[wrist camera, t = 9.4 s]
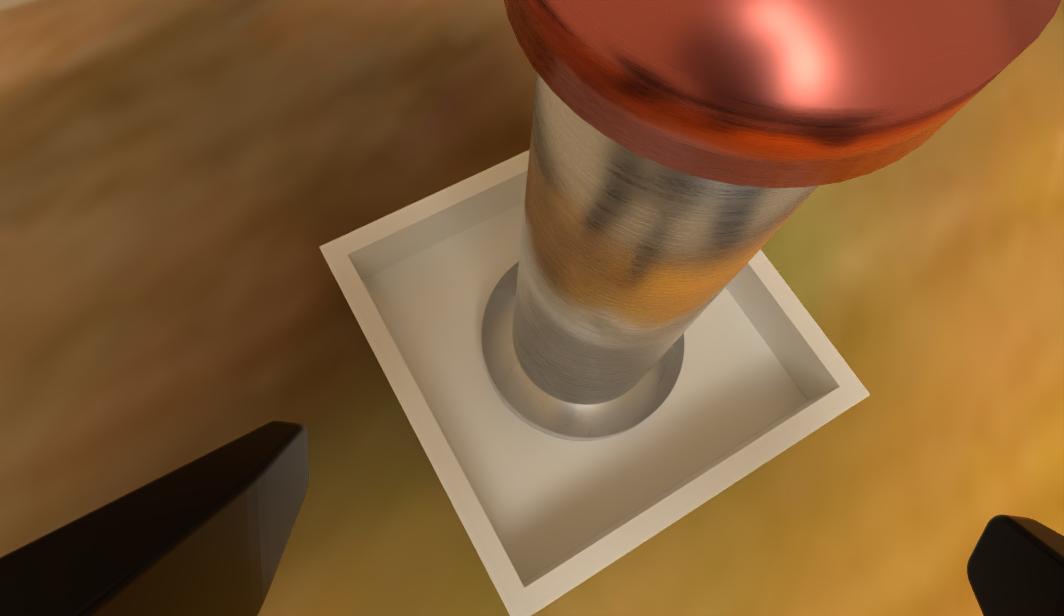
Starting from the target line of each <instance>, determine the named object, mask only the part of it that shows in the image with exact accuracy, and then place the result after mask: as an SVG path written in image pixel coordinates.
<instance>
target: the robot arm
mask: <svg viewBox="0 0 1064 616" xmlns="http://www.w3.org/2000/svg"><path fill="white" fill-rule="evenodd" d="M308 478H309V463H308V432H307V429H306V427H305V426H304V425H303V424H298V423H290V422H283V421H272V422H270V423H268V424H266V425H264V426H262V427H260V428H258V429H256V430H254V431H252V432H250V433H248V434H246V435H244V436H242V437H240V438H238V439H236V440H234V441H232V442H230V443H228V444H226V445H224V446H222V447H220V448H218V449H216V450H214V451H212V452H210V453H208V454H206V455H204V456H202V457H200V458H198V459H196V460H194V461H192V462H190V463H188V464H186V465H184V466H182V467H180V468H178V469H176V470H174V471H172V472H170V473H168V474H166V475H164V476H162V477H160V478H158V479H156V480H154V481H152V482H150V483H148V484H146V485H144V486H142V487H140V488H138V489H136V490H134V491H132V492H130V493H128V494H126V495H124V496H122V497H120V498H118V499H116V500H114V501H112V502H110V503H108V504H106V505H104V506H102V507H100V508H98V509H96V510H94V511H92V512H90V513H88V514H86V515H84V516H82V517H81V518H79V519H77V520H75V521H73V522H71V523H69V524H67V525H65V526H63V527H61V528H59V529H57V530H55V531H53V532H51V533H49V534H47V535H45V536H43V537H41V538H39V539H37V540H35V541H33V542H31V543H29V544H27V545H25V546H23V547H21V548H19V549H17V550H15V551H13V552H11V553H9V554H7V555H5V556H3V557H1V558H0V616H257V615H258V613H259V611H260V609H261V607H262V605H263V603H264V600H265V598H266V595H267V593H268V591H269V588H270V586H271V583H272V580H273V578H274V575H275V573H276V570H277V567H278V565H279V562H280V559H281V557H282V554H283V552H284V549H285V546H286V544H287V541H288V539H289V536H290V533H291V531H292V528H293V525H294V523H295V520H296V518H297V515H298V512H299V510H300V507H301V505H302V502H303V499H304V497H305V494H306V490H307V486H308ZM967 574H968V579H969V582H970V585H971V587H972V589H973V592H974V594H975V596H976V599H977V601H978V603H979V606H980V608H981V610H982V613H983V615H984V616H1064V536H1063V535H1061V534H1059V533H1057V532H1055V531H1054V530H1052V529H1050V528H1048V527H1046V526H1045V525H1043V524H1041V523H1039V522H1037V521H1035V520H1033V519H1030V518H1025V517H1017V516H1009V515H997V516H995V517H993V518H992V519H991V520H990V521H989V522H988V524H987V526H986V527H985V529H984V531H983V533H982V535H981V537H980V539H979V541H978V543H977V545H976V547H975V549H974V550H973V552H972V554H971V556H970V558H969V561H968V565H967Z"/></svg>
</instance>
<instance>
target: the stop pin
mask: <svg viewBox="0 0 1064 616" xmlns="http://www.w3.org/2000/svg"><path fill="white" fill-rule="evenodd" d="M504 2H505V7H506V11H507V15H508V18H509V21H510V23H511V26H512V28H513V30H514V33H515V35H516V38H517V40H518V42H519V44H520V46H521V48H522V49H523V51H524V53H525V54H526V56H527V58H528V59H529V61H530V63H531V64H532V66H533V68H534V69H535V70H536V71H537V78H536V88H535V99H534V109H533V120H532V130H531V141H530V151H529V161H528V172H527V182H526V193H525V203H524V214H523V224H522V235H521V245H520V256H519V261H518V262H517V263H516V264H515V265H513V266H512V267H511V268H510V269H509V270H508V271H507V272H506V273H505V274H504V275H503V276H502V278H501V279H500V280H499V282H498V283H497V284H496V286H495V288H494V290H493V291H492V293H491V295H490V297H489V300H488V302H487V305H486V308H485V312H484V316H483V320H482V331H481V336H482V354H483V360H484V365H485V368H486V371H487V374H488V378H489V380H490V382H491V384H492V386H493V388H494V390H495V391H496V393H497V394H498V396H499V397H500V399H501V400H502V402H503V403H504V404H505V405H506V406H507V407H508V409H509V410H510V411H511V412H512V413H514V414H515V415H516V416H517V417H518V418H519V419H520V420H522V421H523V422H525V423H526V424H528V425H529V426H531V427H532V428H534V429H536V430H538V431H540V432H542V433H545V434H548V435H551V436H553V437H556V438H561V439H566V440H572V441H596V440H601V439H606V438H611V437H614V436H617V435H619V434H622V433H624V432H626V431H628V430H630V429H632V428H634V427H635V426H637V425H638V424H640V423H641V422H643V421H644V420H645V419H646V418H648V417H649V416H650V415H651V414H652V413H654V412H655V411H656V410H657V409H658V408H659V407H660V406H661V405H662V403H663V402H664V401H665V400H666V398H667V397H668V396H669V394H670V393H671V391H672V389H673V387H674V386H675V384H676V381H677V379H678V376H679V374H680V371H681V367H682V363H683V357H684V348H685V347H684V332H685V331H686V330H687V329H688V328H689V326H690V325H691V324H692V323H693V322H694V321H695V320H696V319H697V318H698V317H699V316H700V314H701V313H702V312H703V311H704V310H705V309H706V308H707V307H708V306H709V305H710V304H711V302H712V301H713V300H714V299H715V298H716V297H717V296H718V295H719V294H720V293H721V292H722V290H723V289H724V288H725V287H726V286H727V285H728V284H729V283H730V282H731V281H732V280H733V278H734V277H735V276H736V275H737V274H738V273H739V272H740V271H741V270H742V269H743V267H744V266H745V265H746V264H747V263H748V262H749V261H750V260H751V259H752V258H753V257H754V255H755V254H756V253H757V252H758V251H759V250H760V249H761V248H762V247H763V246H764V245H765V243H766V242H767V241H768V240H769V239H770V238H771V237H772V236H773V235H774V234H775V233H776V231H777V230H778V229H779V228H780V227H781V226H782V225H783V224H784V223H785V222H786V221H787V219H788V218H789V217H790V216H791V215H792V214H793V213H794V212H795V211H796V210H797V209H798V207H799V206H800V205H801V204H802V203H803V202H804V201H805V200H806V199H807V198H808V197H809V195H810V194H811V193H812V192H813V191H814V190H815V189H816V188H817V187H818V186H819V185H824V184H831V183H837V182H842V181H845V180H849V179H852V178H856V177H859V176H862V175H866V174H869V173H872V172H874V171H876V170H878V169H881V168H883V167H885V166H887V165H889V164H892V163H894V162H896V161H898V160H900V159H901V158H903V157H904V156H906V155H907V154H909V153H910V152H912V151H913V150H915V149H916V148H918V147H919V146H921V145H922V144H923V143H924V142H925V141H926V140H928V139H929V138H930V137H931V136H932V135H933V134H934V133H935V132H936V131H937V130H938V129H939V128H941V127H942V126H943V125H944V124H945V123H946V122H947V121H948V120H949V119H950V118H951V117H952V116H954V115H955V114H956V113H957V112H958V111H959V110H960V109H961V108H962V107H963V106H964V105H965V104H967V103H968V102H969V101H970V100H971V99H972V98H973V97H974V96H975V95H976V94H977V93H978V92H980V91H981V90H982V89H983V88H984V87H985V86H986V85H987V84H988V83H989V82H990V81H991V80H992V79H994V78H995V77H996V76H997V75H998V74H999V73H1000V72H1001V71H1002V70H1003V69H1004V68H1005V67H1007V66H1008V65H1009V64H1010V63H1011V62H1012V61H1013V60H1014V59H1015V58H1016V57H1017V56H1018V55H1020V54H1021V53H1022V52H1023V51H1024V50H1025V49H1026V48H1027V47H1028V46H1029V45H1030V44H1031V43H1033V42H1034V41H1035V40H1036V39H1037V38H1038V36H1039V35H1040V34H1041V32H1042V31H1043V30H1044V28H1045V27H1046V26H1047V24H1048V23H1049V22H1050V20H1051V19H1052V17H1053V16H1054V15H1055V12H1056V10H1057V8H1058V6H1059V4H1060V2H1061V0H504Z"/></svg>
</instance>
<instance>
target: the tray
mask: <svg viewBox="0 0 1064 616" xmlns="http://www.w3.org/2000/svg"><path fill="white" fill-rule="evenodd" d="M529 151H530V150H528V151H526V152H523V153H521V154H519V155H517V156H515V157H513V158H510V159H508V160H506V161H504V162H502V163H500V164H497V165H495V166H493V167H491V168H489V169H487V170H484V171H482V172H480V173H478V174H476V175H474V176H471V177H469V178H467V179H465V180H463V181H461V182H458V183H456V184H454V185H452V186H450V187H448V188H445V189H443V190H441V191H439V192H437V193H435V194H432V195H430V196H428V197H426V198H424V199H422V200H419V201H417V202H415V203H413V204H411V205H409V206H406V207H404V208H402V209H400V210H398V211H396V212H393V213H391V214H389V215H387V216H385V217H383V218H380V219H378V220H376V221H374V222H372V223H370V224H367V225H365V226H363V227H361V228H359V229H357V230H354V231H352V232H350V233H348V234H346V235H344V236H341V237H339V238H337V239H335V240H333V241H331V242H328V243H326V244H324V245H322V246H320V247H319V248H320V250H321V252H322V254H323V256H324V258H325V259H326V261H327V263H328V265H329V267H330V269H331V271H332V273H333V275H334V277H335V279H336V281H337V283H338V285H339V286H340V288H341V290H342V292H343V294H344V296H345V298H346V300H347V302H348V304H349V306H350V308H351V310H352V312H353V313H354V315H355V317H356V319H357V321H358V323H359V325H360V327H361V329H362V331H363V333H364V335H365V337H366V339H367V341H368V342H369V344H370V346H371V348H372V350H373V352H374V354H375V356H376V358H377V360H378V362H379V364H380V366H381V368H382V369H383V371H384V373H385V375H386V377H387V379H388V381H389V383H390V385H391V387H392V389H393V391H394V393H395V395H396V397H397V398H398V400H399V402H400V404H401V406H402V408H403V410H404V412H405V414H406V416H407V418H408V420H409V422H410V424H411V425H412V427H413V429H414V431H415V433H416V435H417V437H418V439H419V441H420V443H421V445H422V447H423V449H424V451H425V452H426V454H427V456H428V458H429V460H430V462H431V464H432V466H433V468H434V470H435V472H436V474H437V476H438V478H439V480H440V481H441V483H442V485H443V487H444V489H445V491H446V493H447V495H448V497H449V499H450V501H451V503H452V505H453V507H454V508H455V510H456V512H457V514H458V516H459V518H460V520H461V522H462V524H463V526H464V528H465V530H466V532H467V534H468V536H469V537H470V539H471V541H472V543H473V545H474V547H475V549H476V551H477V553H478V555H479V557H480V559H481V561H482V563H483V564H484V566H485V568H486V570H487V572H488V574H489V576H490V578H491V580H492V582H493V584H494V586H495V588H496V590H497V591H498V593H499V595H500V597H501V599H502V601H503V603H504V605H505V607H506V609H507V611H508V613H509V615H510V616H531V615H533V614H534V613H536V612H537V611H539V610H541V609H542V608H544V607H545V606H547V605H548V604H550V603H551V602H553V601H554V600H556V599H557V598H559V597H560V596H562V595H564V594H565V593H567V592H568V591H570V590H571V589H573V588H574V587H576V586H577V585H579V584H580V583H582V582H584V581H585V580H587V579H588V578H590V577H591V576H593V575H594V574H596V573H597V572H599V571H600V570H602V569H603V568H605V567H607V566H608V565H610V564H611V563H613V562H614V561H616V560H617V559H619V558H620V557H622V556H623V555H625V554H626V553H628V552H630V551H631V550H633V549H634V548H636V547H637V546H639V545H640V544H642V543H643V542H645V541H646V540H648V539H650V538H651V537H653V536H654V535H656V534H657V533H659V532H660V531H662V530H663V529H665V528H666V527H668V526H669V525H671V524H673V523H674V522H676V521H677V520H679V519H680V518H682V517H683V516H685V515H686V514H688V513H689V512H691V511H693V510H694V509H696V508H697V507H699V506H700V505H702V504H703V503H705V502H706V501H708V500H709V499H711V498H712V497H714V496H716V495H717V494H719V493H720V492H722V491H723V490H725V489H726V488H728V487H729V486H731V485H732V484H734V483H735V482H737V481H739V480H740V479H742V478H743V477H745V476H746V475H748V474H749V473H751V472H752V471H754V470H755V469H757V468H759V467H760V466H762V465H763V464H765V463H766V462H768V461H769V460H771V459H772V458H774V457H775V456H777V455H778V454H780V453H782V452H783V451H785V450H786V449H788V448H789V447H791V446H792V445H794V444H795V443H797V442H798V441H800V440H802V439H803V438H805V437H806V436H808V435H809V434H811V433H812V432H814V431H815V430H817V429H818V428H820V427H821V426H823V425H825V424H826V423H828V422H829V421H831V420H832V419H834V418H835V417H837V416H838V415H840V414H841V413H843V412H844V411H846V410H848V409H849V408H851V407H852V406H854V405H855V404H857V403H858V402H860V401H861V400H863V399H864V398H866V397H868V396H869V395H870V394H869V392H868V391H867V390H866V388H865V387H864V386H863V384H862V383H861V382H860V380H859V379H858V378H857V376H856V375H855V374H854V372H853V371H852V370H851V368H850V367H849V366H848V364H847V363H846V362H845V361H844V359H843V358H842V357H841V355H840V354H839V353H838V351H837V350H836V349H835V347H834V346H833V345H832V343H831V342H830V341H829V339H828V338H827V337H826V335H825V334H824V333H823V331H822V330H821V329H820V327H819V326H818V325H817V323H816V322H815V321H814V319H813V318H812V317H811V315H810V314H809V313H808V311H807V310H806V309H805V308H804V306H803V305H802V304H801V302H800V301H799V300H798V298H797V297H796V296H795V294H794V293H793V292H792V290H791V289H790V288H789V286H788V285H787V284H786V282H785V281H784V280H783V278H782V277H781V276H780V274H779V273H778V272H777V270H776V269H775V268H774V266H773V265H772V264H771V262H770V261H769V260H768V258H767V257H766V256H765V255H764V253H763V252H762V251H761V249H760V250H759V251H758V252H757V253H756V254H755V255H754V257H753V258H752V259H751V260H750V261H749V262H748V263H747V264H746V265H745V266H744V267H743V269H742V270H741V271H740V272H739V273H738V274H737V275H736V276H735V277H734V278H733V280H732V281H731V282H730V283H729V284H728V285H727V286H726V287H725V288H724V289H723V290H722V292H721V293H720V294H719V295H718V296H717V297H716V298H715V299H714V300H713V301H712V302H711V304H710V305H709V306H708V307H707V308H706V309H705V310H704V311H703V312H702V313H701V314H700V316H699V317H698V318H697V319H696V320H695V321H694V322H693V323H692V324H691V325H690V326H689V328H688V329H687V330H686V331H685V332H684V347H685V348H684V357H683V363H682V367H681V371H680V374H679V376H678V379H677V381H676V384H675V386H674V387H673V389H672V391H671V393H670V394H669V396H668V397H667V398H666V400H665V401H664V402H663V403H662V405H661V406H660V407H659V408H658V409H657V410H656V411H655V412H654V413H652V414H651V415H650V416H649V417H648V418H646V419H645V420H644V421H643V422H641V423H640V424H638V425H637V426H635V427H634V428H632V429H630V430H628V431H626V432H624V433H622V434H619V435H617V436H614V437H611V438H606V439H601V440H596V441H572V440H566V439H561V438H556V437H553V436H551V435H548V434H545V433H542V432H540V431H538V430H536V429H534V428H532V427H531V426H529V425H528V424H526V423H525V422H523V421H522V420H520V419H519V418H518V417H517V416H516V415H515V414H514V413H512V412H511V411H510V410H509V409H508V407H507V406H506V405H505V404H504V403H503V402H502V400H501V399H500V397H499V396H498V394H497V393H496V391H495V390H494V388H493V386H492V384H491V382H490V380H489V378H488V374H487V371H486V368H485V365H484V360H483V354H482V336H481V331H482V320H483V316H484V312H485V308H486V305H487V302H488V300H489V297H490V295H491V293H492V291H493V290H494V288H495V286H496V284H497V283H498V282H499V280H500V279H501V278H502V276H503V275H504V274H505V273H506V272H507V271H508V270H509V269H510V268H511V267H512V266H513V265H515V264H516V263H517V262H518V261H519V256H520V245H521V235H522V224H523V214H524V203H525V193H526V182H527V172H528V161H529Z"/></svg>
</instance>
